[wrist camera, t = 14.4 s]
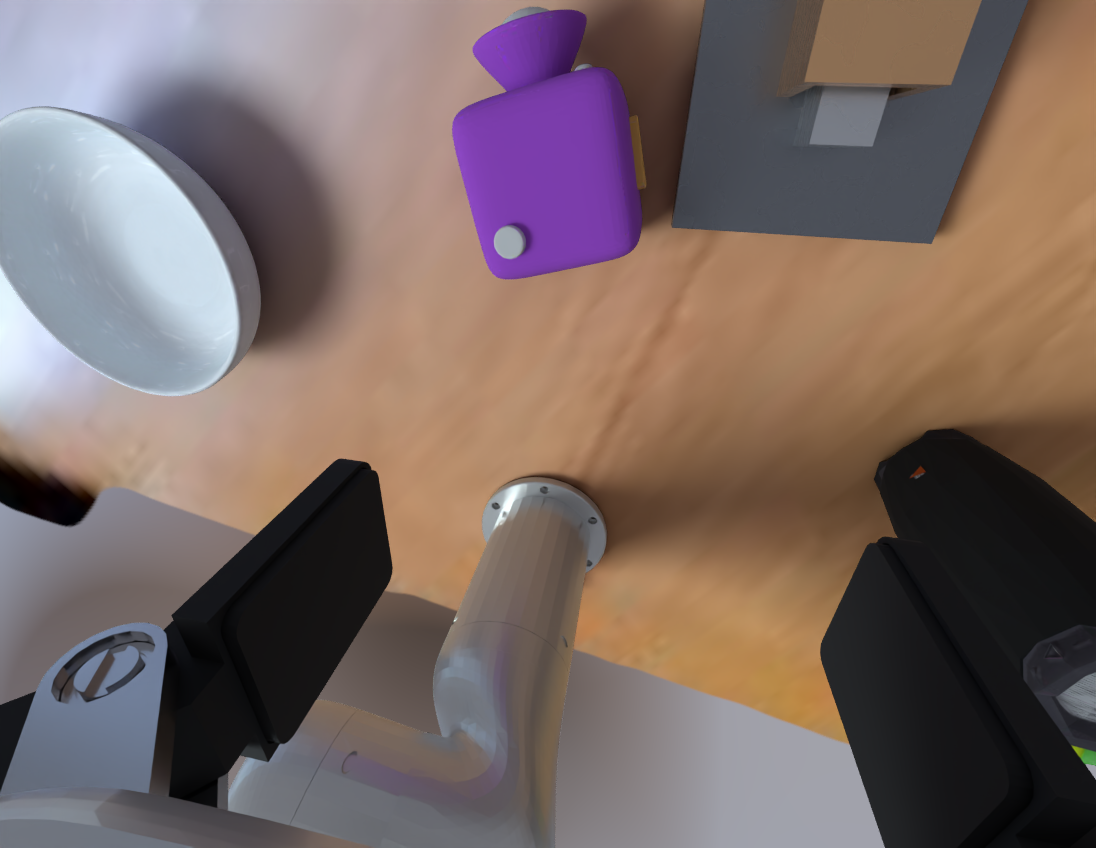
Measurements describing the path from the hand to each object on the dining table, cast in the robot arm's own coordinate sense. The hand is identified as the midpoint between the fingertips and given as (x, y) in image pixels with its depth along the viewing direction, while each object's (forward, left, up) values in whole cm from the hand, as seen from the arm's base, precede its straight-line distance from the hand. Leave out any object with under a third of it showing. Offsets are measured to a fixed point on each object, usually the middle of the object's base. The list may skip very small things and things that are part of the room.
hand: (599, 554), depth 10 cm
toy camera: (+7, +6, -31) cm, 32 cm away
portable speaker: (-14, -25, -31) cm, 42 cm away
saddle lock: (+14, -10, -29) cm, 34 cm away
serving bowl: (-2, +39, -31) cm, 50 cm away
